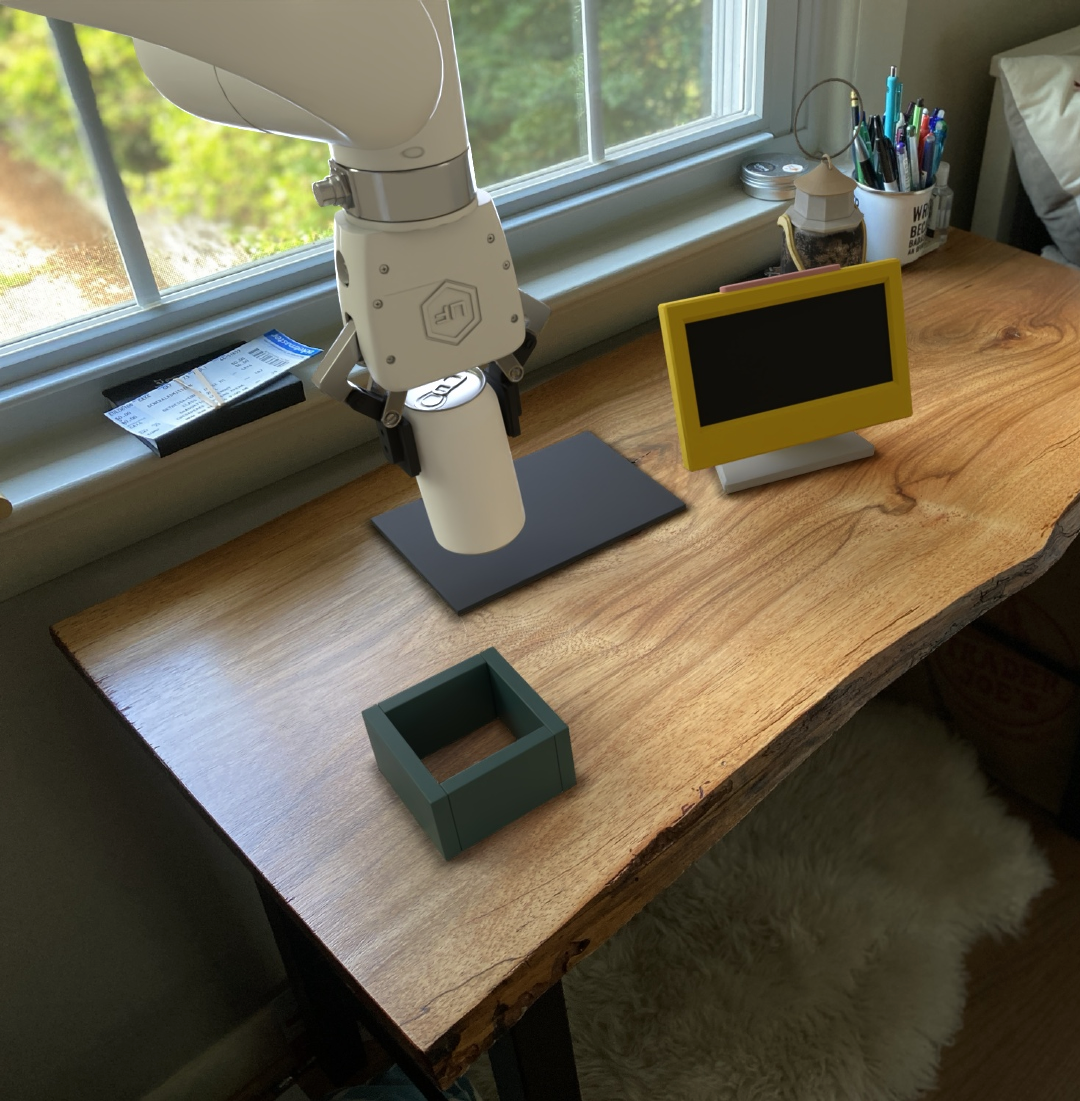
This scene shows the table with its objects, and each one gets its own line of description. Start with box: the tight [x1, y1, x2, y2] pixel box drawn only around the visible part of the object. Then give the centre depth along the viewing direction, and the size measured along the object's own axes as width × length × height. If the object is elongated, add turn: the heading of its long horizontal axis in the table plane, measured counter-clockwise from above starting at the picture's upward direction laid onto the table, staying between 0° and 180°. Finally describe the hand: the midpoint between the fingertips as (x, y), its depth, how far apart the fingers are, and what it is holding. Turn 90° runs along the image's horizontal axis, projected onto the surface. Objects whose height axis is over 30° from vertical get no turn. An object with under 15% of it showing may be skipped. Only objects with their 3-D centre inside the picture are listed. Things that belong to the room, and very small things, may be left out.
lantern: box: [776, 77, 868, 275], centre depth 100 cm, size 9×8×25 cm
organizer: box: [361, 645, 578, 862], centre depth 64 cm, size 9×9×5 cm
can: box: [402, 366, 525, 555], centre depth 74 cm, size 6×6×12 cm
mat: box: [370, 430, 687, 617], centre depth 86 cm, size 20×14×1 cm
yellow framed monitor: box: [657, 257, 914, 495], centre depth 88 cm, size 20×8×16 cm, turn 114°
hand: (456, 445), depth 74 cm, fingers closed on can, 6 cm apart
